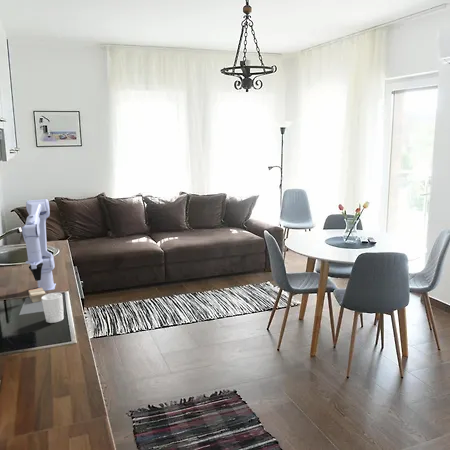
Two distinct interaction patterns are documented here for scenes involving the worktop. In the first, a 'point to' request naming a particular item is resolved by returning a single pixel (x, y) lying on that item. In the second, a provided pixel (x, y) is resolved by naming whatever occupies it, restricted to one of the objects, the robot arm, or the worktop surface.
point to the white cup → (53, 307)
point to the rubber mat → (31, 307)
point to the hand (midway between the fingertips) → (38, 280)
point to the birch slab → (36, 294)
